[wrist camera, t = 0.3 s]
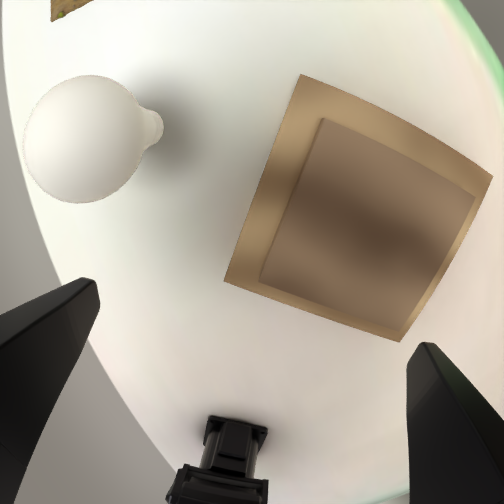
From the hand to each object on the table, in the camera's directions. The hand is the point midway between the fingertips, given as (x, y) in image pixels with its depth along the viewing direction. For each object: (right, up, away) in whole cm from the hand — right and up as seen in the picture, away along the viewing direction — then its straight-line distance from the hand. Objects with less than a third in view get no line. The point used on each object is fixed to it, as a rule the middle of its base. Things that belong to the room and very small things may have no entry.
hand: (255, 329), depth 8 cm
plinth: (+7, +4, +13) cm, 15 cm away
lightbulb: (-7, +10, +12) cm, 17 cm away
